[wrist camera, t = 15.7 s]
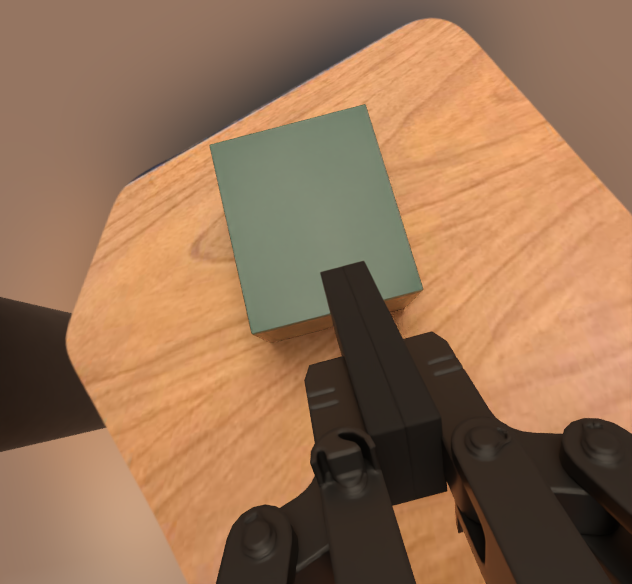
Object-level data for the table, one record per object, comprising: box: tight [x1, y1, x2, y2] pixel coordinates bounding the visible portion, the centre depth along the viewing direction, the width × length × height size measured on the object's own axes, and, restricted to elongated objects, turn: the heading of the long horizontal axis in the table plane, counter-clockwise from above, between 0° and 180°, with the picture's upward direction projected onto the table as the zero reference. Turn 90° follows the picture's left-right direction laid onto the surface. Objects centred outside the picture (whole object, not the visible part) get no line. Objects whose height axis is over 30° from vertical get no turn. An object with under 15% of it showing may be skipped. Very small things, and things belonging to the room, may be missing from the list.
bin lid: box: [210, 104, 423, 335], centre depth 35 cm, size 16×14×1 cm
